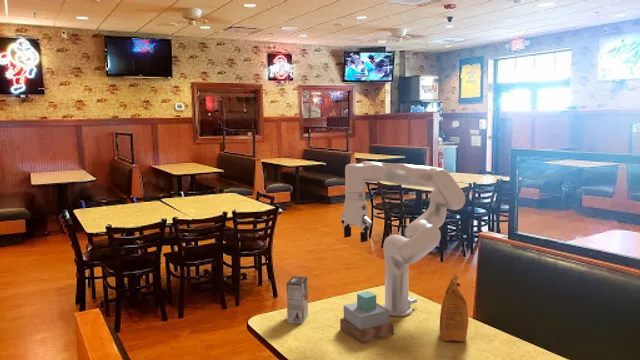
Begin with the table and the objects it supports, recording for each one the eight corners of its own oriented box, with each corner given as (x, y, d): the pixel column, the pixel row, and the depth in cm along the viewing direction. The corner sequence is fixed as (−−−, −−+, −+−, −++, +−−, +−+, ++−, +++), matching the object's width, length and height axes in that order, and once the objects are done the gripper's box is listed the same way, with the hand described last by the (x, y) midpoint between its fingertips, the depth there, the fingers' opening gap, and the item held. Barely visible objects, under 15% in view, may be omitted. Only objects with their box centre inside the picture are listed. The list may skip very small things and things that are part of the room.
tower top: (370, 312, 188) (370, 299, 188) (388, 323, 178) (388, 310, 177) (343, 318, 183) (343, 305, 182) (360, 329, 172) (360, 316, 172)
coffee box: (292, 313, 198) (292, 275, 197) (308, 315, 197) (307, 276, 195) (286, 323, 190) (286, 283, 188) (303, 324, 188) (302, 284, 186)
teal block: (367, 303, 183) (367, 291, 183) (376, 308, 179) (376, 295, 179) (357, 306, 181) (357, 293, 180) (365, 311, 176) (365, 297, 176)
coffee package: (467, 330, 182) (469, 273, 179) (468, 345, 170) (469, 284, 167) (439, 327, 184) (441, 271, 182) (438, 341, 173) (440, 281, 170)
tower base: (369, 322, 190) (370, 310, 190) (393, 336, 179) (393, 323, 178) (340, 331, 183) (340, 318, 182) (362, 345, 171) (362, 332, 171)
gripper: (377, 197, 183) (378, 242, 185) (348, 192, 197) (348, 233, 199) (362, 199, 179) (363, 245, 181) (333, 194, 192) (334, 236, 195)
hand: (355, 239), depth 190 cm, fingers open, 9 cm apart
